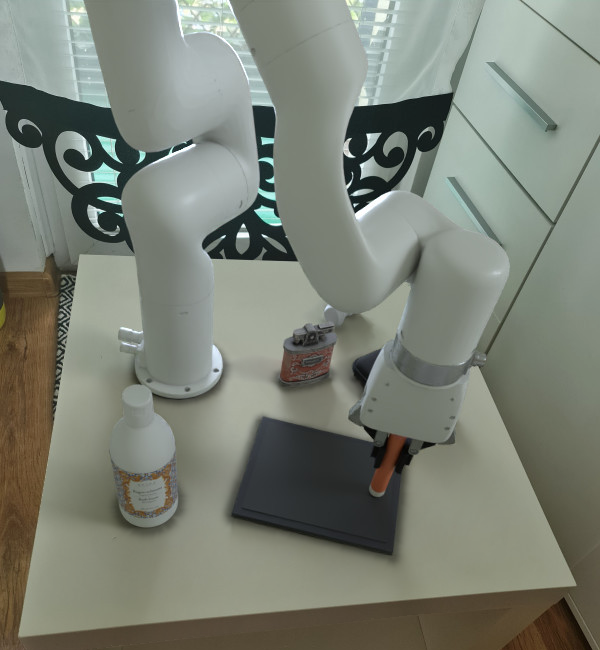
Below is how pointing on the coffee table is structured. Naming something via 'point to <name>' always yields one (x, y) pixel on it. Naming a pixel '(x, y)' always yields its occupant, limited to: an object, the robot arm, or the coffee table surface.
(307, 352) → the lighter
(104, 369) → the coffee table surface
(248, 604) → the coffee table surface
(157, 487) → the bath foam
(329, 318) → the pale two-lobed sculpture
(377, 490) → the orange cylindrical rod
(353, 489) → the tablet
